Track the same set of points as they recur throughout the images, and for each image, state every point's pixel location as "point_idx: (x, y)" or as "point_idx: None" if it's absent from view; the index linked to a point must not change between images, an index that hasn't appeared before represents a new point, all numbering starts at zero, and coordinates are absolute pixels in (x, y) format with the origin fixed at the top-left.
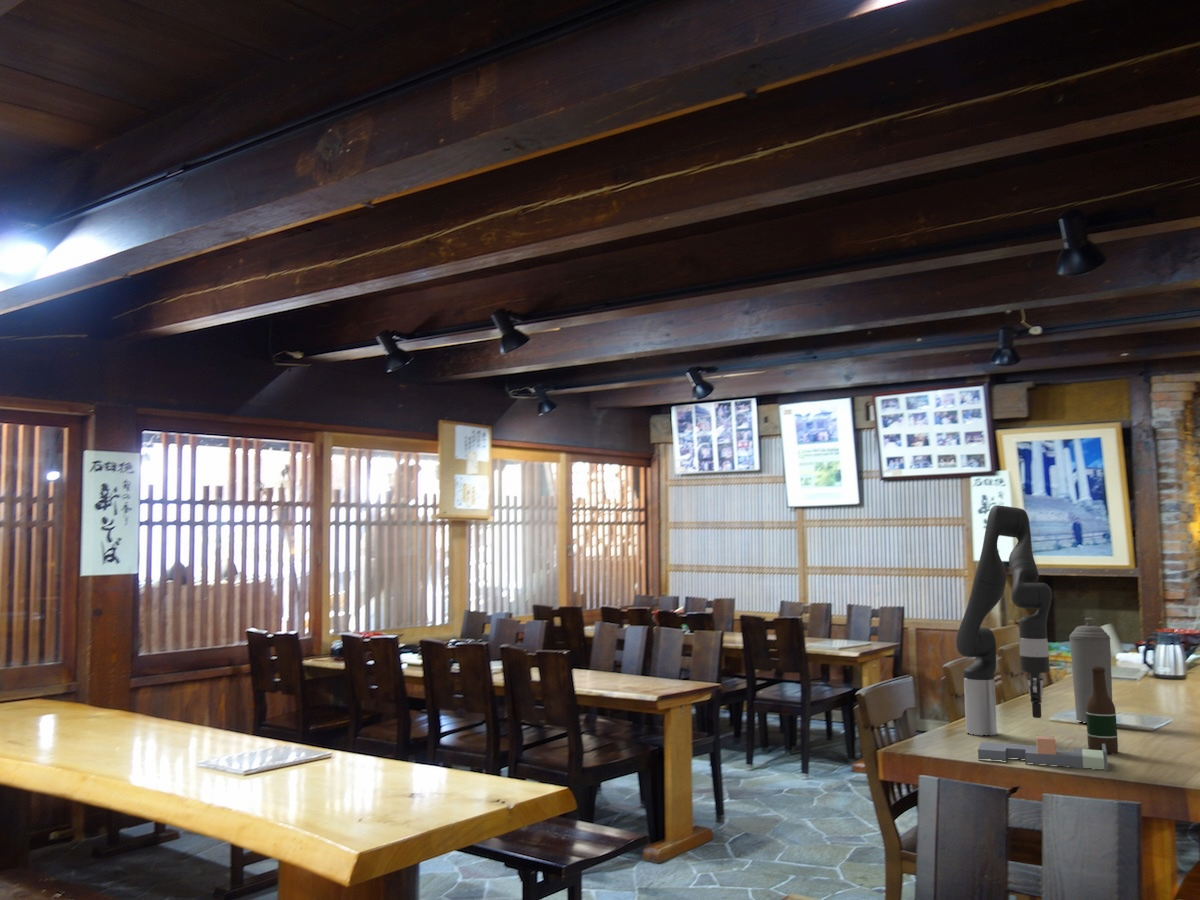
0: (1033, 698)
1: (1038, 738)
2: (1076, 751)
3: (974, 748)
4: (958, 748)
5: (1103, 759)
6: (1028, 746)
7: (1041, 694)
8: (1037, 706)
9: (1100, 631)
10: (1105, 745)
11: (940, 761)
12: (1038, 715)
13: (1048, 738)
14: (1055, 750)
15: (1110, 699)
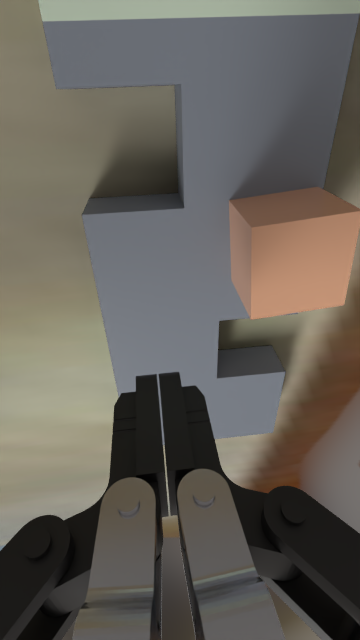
0: (301, 572)
1: (340, 299)
2: (170, 65)
3: (67, 442)
4: (96, 466)
5: None
6: (138, 320)
7: (273, 610)
8: (219, 465)
9: None
10: None
11: (300, 457)
12: (196, 394)
13: (331, 251)
14: (327, 194)
15: None
